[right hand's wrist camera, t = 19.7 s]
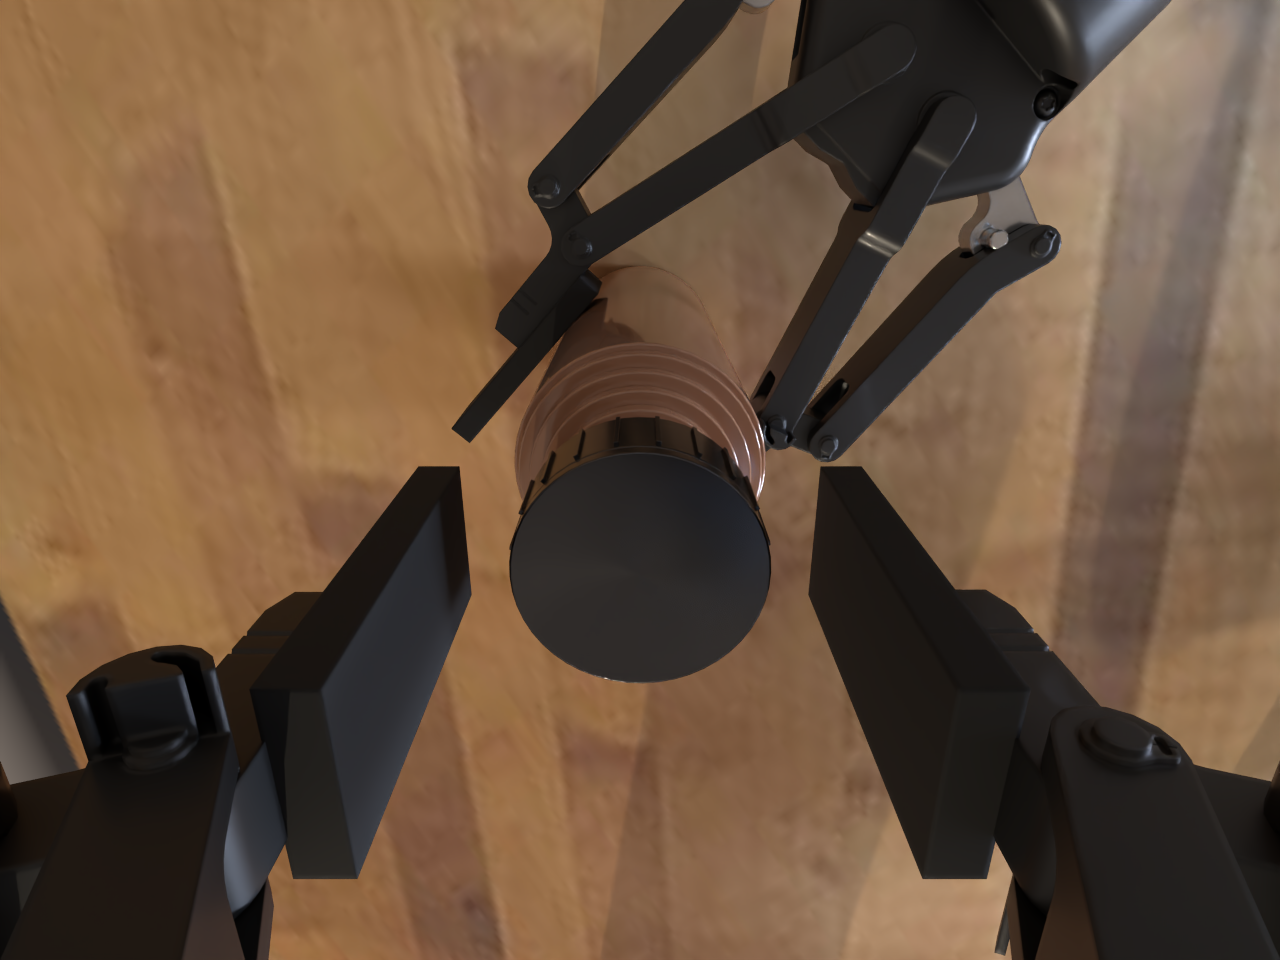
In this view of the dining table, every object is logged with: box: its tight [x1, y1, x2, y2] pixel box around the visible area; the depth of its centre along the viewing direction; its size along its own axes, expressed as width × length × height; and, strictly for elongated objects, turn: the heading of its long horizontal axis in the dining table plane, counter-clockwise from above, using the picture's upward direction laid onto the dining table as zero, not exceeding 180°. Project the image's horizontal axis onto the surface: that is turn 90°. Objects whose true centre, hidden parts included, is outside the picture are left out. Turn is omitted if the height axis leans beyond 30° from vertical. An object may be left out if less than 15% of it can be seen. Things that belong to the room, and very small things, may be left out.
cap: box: [509, 416, 771, 683], centre depth 14 cm, size 4×4×2 cm
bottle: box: [515, 266, 766, 501], centre depth 23 cm, size 6×6×20 cm
